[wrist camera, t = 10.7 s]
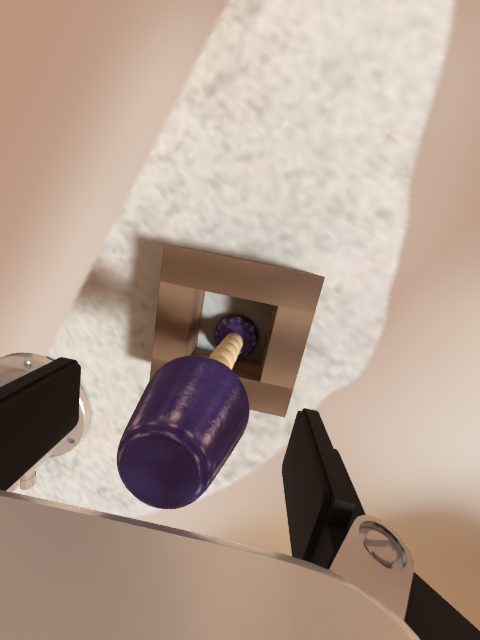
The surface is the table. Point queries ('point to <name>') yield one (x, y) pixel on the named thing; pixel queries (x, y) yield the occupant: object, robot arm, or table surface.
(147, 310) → the table surface
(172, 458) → the toy lamp
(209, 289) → the socket block
